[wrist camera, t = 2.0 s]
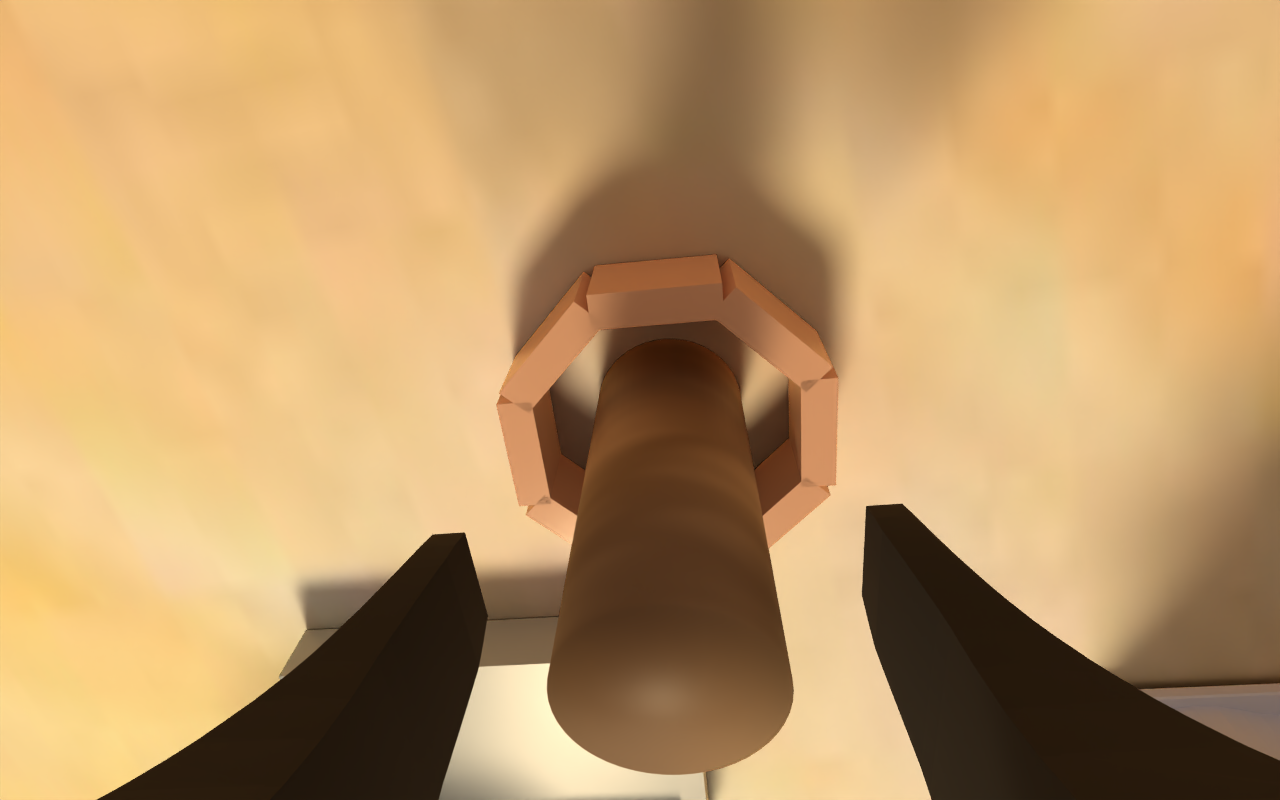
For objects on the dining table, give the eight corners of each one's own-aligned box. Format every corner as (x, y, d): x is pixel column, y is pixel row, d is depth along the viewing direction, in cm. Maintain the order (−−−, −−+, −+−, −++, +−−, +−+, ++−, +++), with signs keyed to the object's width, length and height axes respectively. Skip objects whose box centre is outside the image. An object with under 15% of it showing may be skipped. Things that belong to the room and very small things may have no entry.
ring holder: (822, 244, 17) (840, 272, 15) (819, 515, 20) (834, 563, 18) (494, 274, 17) (474, 305, 15) (547, 532, 21) (536, 581, 19)
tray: (689, 609, 22) (691, 656, 20) (710, 815, 26) (713, 867, 25) (305, 630, 23) (279, 676, 21) (390, 825, 27) (373, 875, 26)
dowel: (737, 332, 18) (792, 597, 10) (743, 458, 19) (794, 770, 11) (589, 345, 18) (526, 610, 10) (608, 467, 20) (566, 778, 12)
